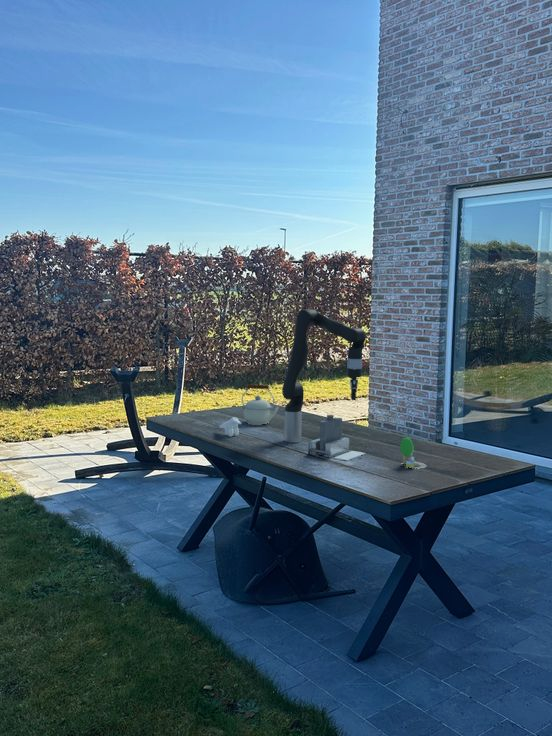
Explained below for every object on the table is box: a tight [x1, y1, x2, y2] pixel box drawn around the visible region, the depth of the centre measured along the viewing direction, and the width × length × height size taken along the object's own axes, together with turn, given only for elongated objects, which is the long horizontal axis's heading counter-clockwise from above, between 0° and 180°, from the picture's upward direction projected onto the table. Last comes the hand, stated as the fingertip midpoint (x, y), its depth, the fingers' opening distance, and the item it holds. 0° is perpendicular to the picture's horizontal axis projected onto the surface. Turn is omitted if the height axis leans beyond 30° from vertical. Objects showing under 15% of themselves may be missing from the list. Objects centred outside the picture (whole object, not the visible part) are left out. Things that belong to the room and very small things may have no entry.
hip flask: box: [319, 414, 343, 457], centre depth 325 cm, size 16×4×20 cm, turn 135°
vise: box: [307, 436, 350, 459], centre depth 326 cm, size 14×19×7 cm
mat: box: [333, 450, 367, 462], centre depth 319 cm, size 8×18×1 cm, turn 142°
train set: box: [399, 437, 427, 470], centre depth 302 cm, size 15×14×14 cm
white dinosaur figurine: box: [218, 416, 242, 438], centre depth 367 cm, size 7×24×11 cm, turn 39°
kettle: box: [241, 384, 280, 426], centre depth 401 cm, size 25×18×25 cm
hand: (353, 398), depth 323 cm, fingers open, 8 cm apart
